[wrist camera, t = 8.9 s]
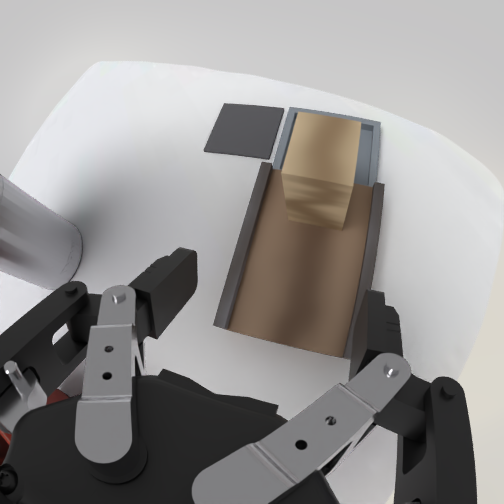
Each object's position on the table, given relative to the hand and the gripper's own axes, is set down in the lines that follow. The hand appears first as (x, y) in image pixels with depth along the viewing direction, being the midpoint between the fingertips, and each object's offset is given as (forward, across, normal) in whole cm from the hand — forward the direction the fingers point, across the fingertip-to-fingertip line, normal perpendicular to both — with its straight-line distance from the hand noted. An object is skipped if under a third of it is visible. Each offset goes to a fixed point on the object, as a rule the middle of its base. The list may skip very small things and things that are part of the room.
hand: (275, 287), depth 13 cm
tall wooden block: (+18, 0, +1) cm, 18 cm away
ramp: (+16, 0, +8) cm, 18 cm away
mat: (+27, +10, -3) cm, 29 cm away
